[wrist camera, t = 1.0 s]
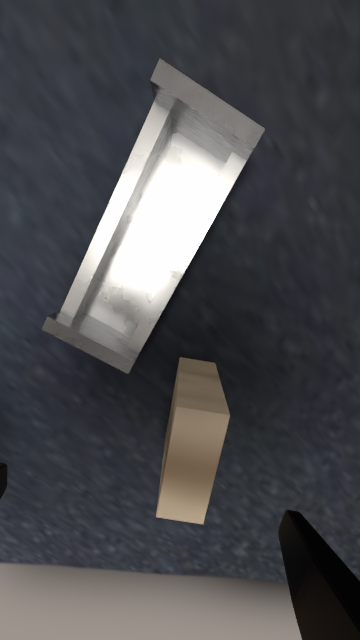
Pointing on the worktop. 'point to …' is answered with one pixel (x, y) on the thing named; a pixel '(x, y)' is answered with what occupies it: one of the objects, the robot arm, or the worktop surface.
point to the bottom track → (155, 218)
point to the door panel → (192, 442)
